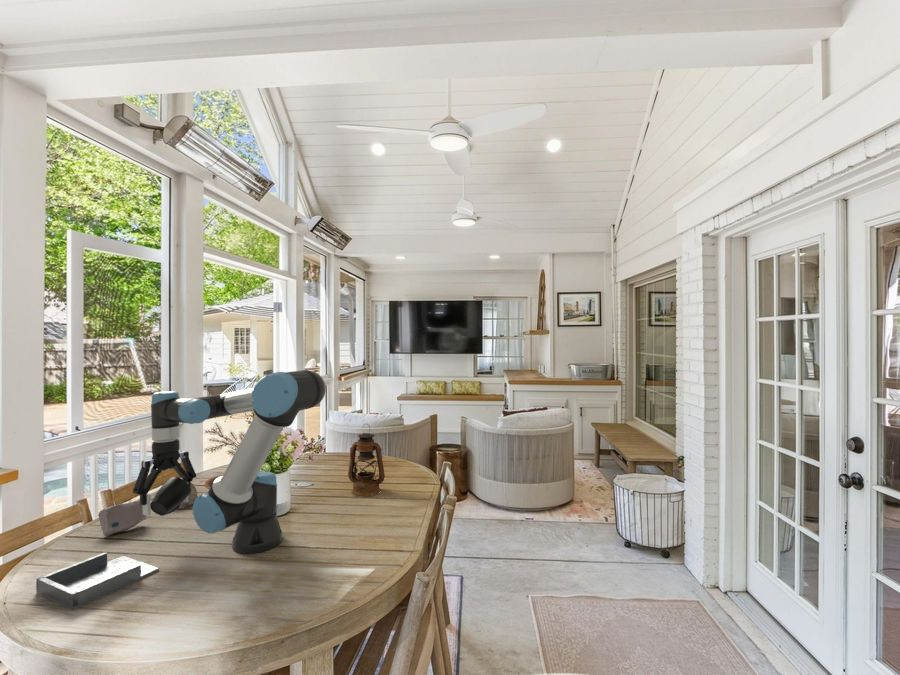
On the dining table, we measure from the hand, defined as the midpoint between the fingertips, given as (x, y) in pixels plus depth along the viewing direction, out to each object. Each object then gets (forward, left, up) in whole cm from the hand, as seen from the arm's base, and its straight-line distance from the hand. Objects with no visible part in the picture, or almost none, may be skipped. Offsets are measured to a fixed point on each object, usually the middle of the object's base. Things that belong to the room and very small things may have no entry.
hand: (166, 507), depth 143 cm
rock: (+33, -26, -13) cm, 45 cm away
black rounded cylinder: (-2, +4, 0) cm, 5 cm away
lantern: (-27, -71, -13) cm, 77 cm away
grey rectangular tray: (-4, +21, -13) cm, 25 cm away
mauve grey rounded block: (+26, -2, -13) cm, 30 cm away
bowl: (+11, -35, -13) cm, 39 cm away
